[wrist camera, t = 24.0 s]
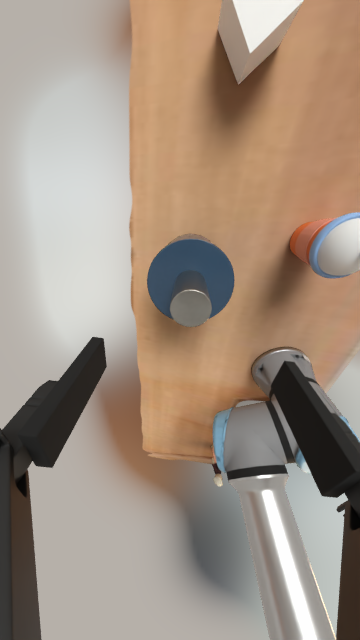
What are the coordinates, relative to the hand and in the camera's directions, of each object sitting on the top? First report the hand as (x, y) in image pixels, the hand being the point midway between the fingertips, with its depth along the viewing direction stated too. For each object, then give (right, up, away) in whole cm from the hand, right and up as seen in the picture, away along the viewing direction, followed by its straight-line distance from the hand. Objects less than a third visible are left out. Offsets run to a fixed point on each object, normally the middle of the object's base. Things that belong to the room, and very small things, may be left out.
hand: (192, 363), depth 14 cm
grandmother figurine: (+14, -49, +63) cm, 81 cm away
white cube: (+8, +40, +11) cm, 43 cm away
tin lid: (+1, +9, +15) cm, 17 cm away
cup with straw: (+24, +19, +22) cm, 38 cm away
